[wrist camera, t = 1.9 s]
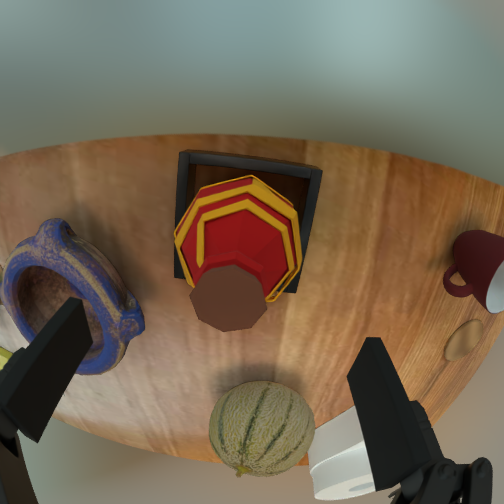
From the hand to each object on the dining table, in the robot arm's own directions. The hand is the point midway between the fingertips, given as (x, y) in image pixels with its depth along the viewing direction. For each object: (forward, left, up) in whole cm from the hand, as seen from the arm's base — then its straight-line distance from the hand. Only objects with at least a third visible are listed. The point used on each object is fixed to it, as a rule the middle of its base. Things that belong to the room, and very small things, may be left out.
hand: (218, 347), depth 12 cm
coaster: (-12, +41, -18) cm, 47 cm away
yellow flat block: (+70, -21, -18) cm, 75 cm away
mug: (-17, +22, -18) cm, 34 cm away
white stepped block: (+15, +47, -18) cm, 53 cm away
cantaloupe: (+18, +21, -18) cm, 33 cm away
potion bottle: (0, 0, -18) cm, 18 cm away
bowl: (+20, -9, -18) cm, 28 cm away
